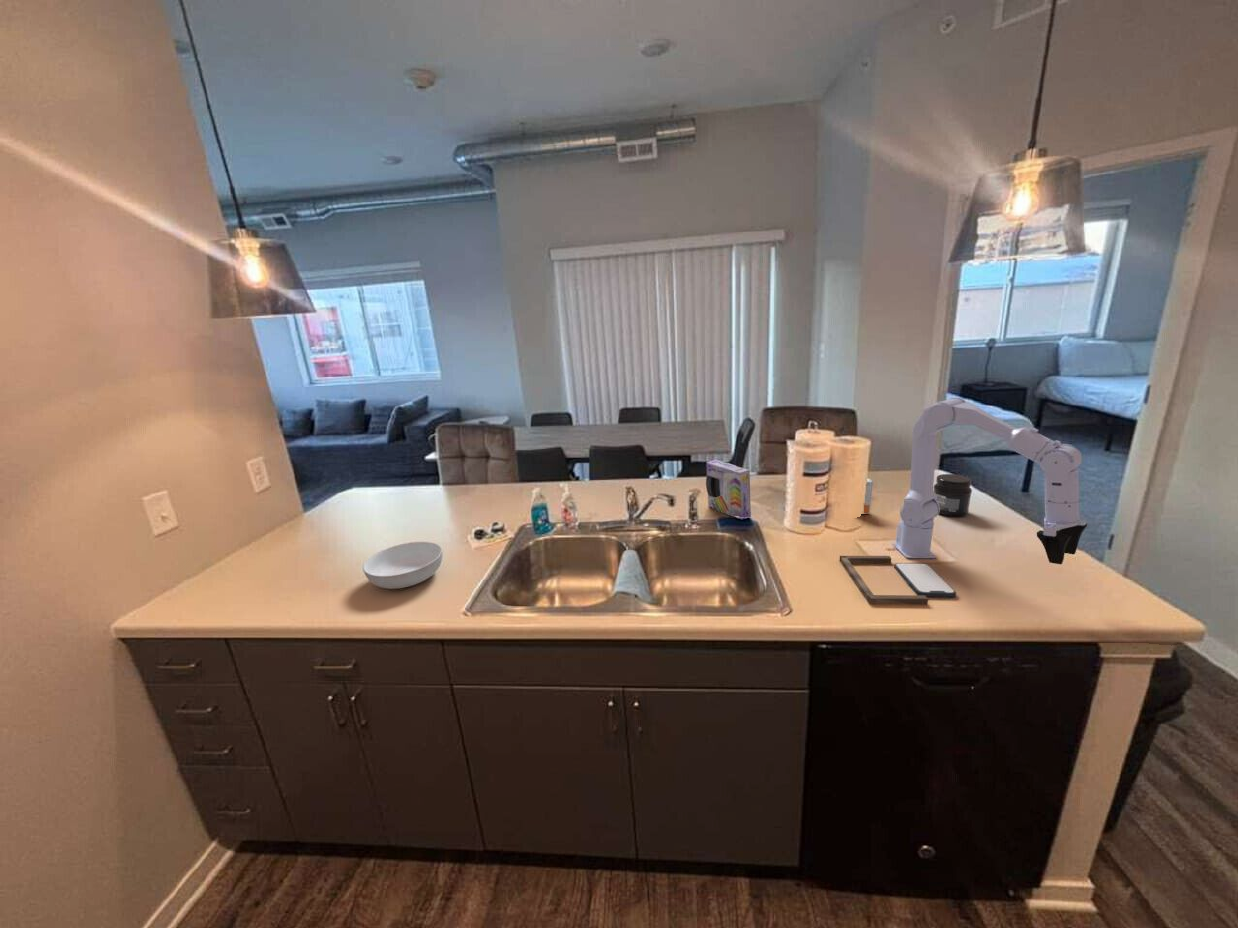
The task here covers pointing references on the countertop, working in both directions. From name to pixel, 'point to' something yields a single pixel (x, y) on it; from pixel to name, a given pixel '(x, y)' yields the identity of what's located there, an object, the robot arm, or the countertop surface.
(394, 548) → the serving bowl
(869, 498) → the skincare box
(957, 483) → the supplement container
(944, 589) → the dark grey smartphone
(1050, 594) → the countertop surface
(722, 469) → the cake pan box
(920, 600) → the walnut frame
